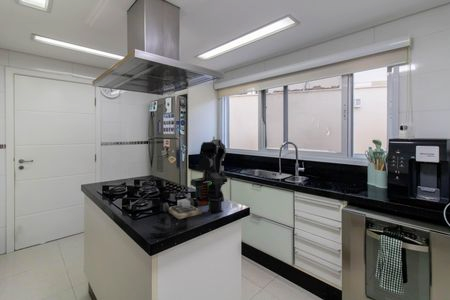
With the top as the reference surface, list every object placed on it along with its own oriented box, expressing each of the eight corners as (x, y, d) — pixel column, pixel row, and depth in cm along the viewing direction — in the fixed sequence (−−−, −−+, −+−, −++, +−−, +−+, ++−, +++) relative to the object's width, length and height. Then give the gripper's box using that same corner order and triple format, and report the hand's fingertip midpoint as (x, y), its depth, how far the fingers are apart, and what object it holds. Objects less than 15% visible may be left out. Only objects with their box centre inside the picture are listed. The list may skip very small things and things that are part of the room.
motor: (194, 204, 143) (193, 173, 141) (198, 200, 151) (198, 170, 150) (209, 205, 140) (209, 173, 139) (213, 201, 149) (213, 171, 148)
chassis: (190, 205, 141) (190, 197, 141) (204, 212, 127) (204, 204, 127) (163, 210, 131) (162, 202, 131) (175, 219, 117) (175, 210, 117)
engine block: (185, 207, 133) (185, 198, 132) (190, 209, 128) (190, 201, 128) (177, 208, 130) (177, 200, 130) (182, 211, 125) (181, 202, 125)
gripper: (201, 170, 102) (201, 204, 103) (233, 167, 113) (234, 198, 114) (189, 167, 111) (190, 199, 112) (221, 164, 122) (221, 193, 123)
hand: (209, 197), depth 115 cm, fingers open, 9 cm apart
